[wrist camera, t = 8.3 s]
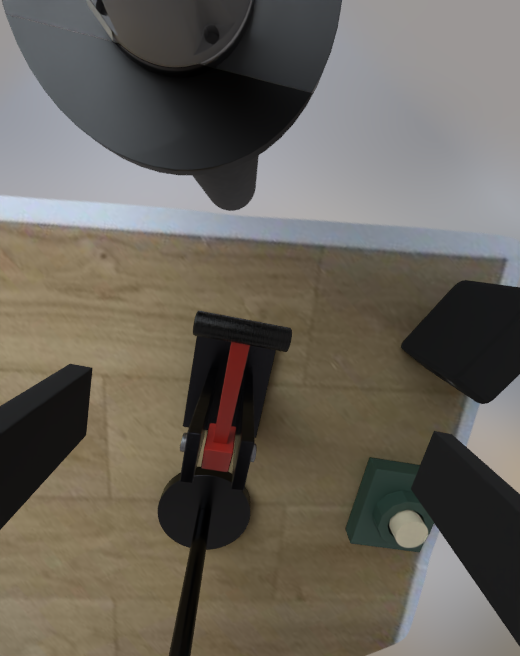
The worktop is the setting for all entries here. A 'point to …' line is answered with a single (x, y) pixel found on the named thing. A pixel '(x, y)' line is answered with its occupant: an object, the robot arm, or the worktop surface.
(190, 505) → the desk lamp
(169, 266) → the worktop surface
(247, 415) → the stand
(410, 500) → the timer box
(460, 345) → the electronic device
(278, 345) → the switch lever
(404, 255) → the worktop surface
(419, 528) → the timer button
